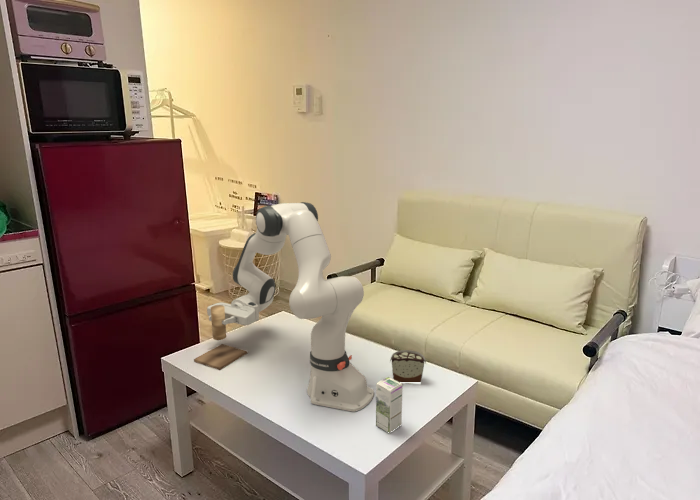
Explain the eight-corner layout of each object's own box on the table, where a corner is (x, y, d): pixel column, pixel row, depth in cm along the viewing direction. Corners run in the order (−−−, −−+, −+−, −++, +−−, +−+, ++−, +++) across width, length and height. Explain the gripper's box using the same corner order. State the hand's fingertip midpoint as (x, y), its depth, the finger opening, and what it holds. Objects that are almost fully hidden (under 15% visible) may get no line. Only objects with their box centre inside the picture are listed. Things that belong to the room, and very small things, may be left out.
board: (247, 353, 196) (247, 351, 195) (220, 370, 183) (219, 367, 183) (222, 346, 202) (222, 343, 202) (194, 361, 189) (193, 359, 189)
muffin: (424, 375, 179) (425, 350, 177) (425, 384, 174) (426, 358, 171) (389, 374, 181) (390, 348, 178) (389, 382, 175) (389, 356, 172)
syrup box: (402, 426, 151) (403, 382, 147) (389, 434, 147) (390, 390, 143) (387, 418, 155) (389, 375, 151) (374, 426, 151) (375, 382, 147)
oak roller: (229, 336, 191) (227, 306, 188) (219, 341, 187) (217, 311, 184) (219, 333, 194) (217, 304, 190) (209, 338, 190) (207, 308, 186)
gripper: (221, 296, 203) (195, 307, 192) (261, 306, 194) (236, 318, 182) (222, 310, 205) (196, 322, 194) (262, 321, 195) (237, 334, 184)
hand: (216, 320), depth 188 cm, fingers closed on oak roller, 5 cm apart
